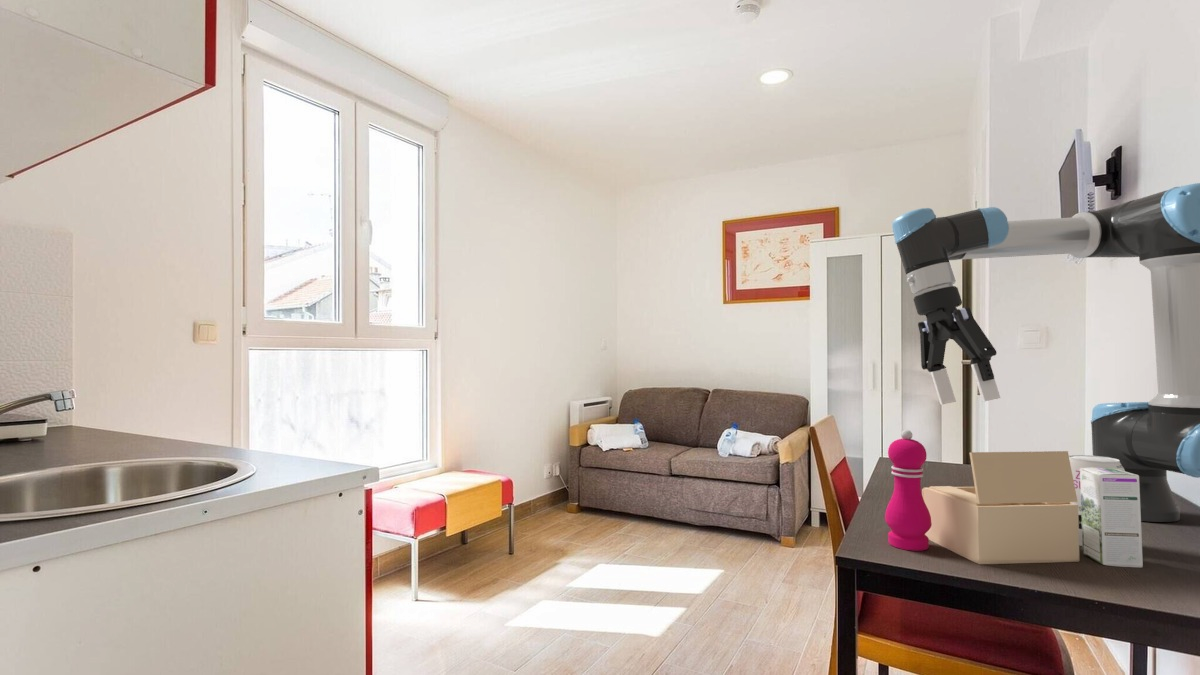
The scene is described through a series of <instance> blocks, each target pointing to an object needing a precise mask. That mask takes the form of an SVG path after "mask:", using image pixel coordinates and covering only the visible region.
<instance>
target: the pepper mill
mask: <svg viewBox="0 0 1200 675" xmlns="http://www.w3.org/2000/svg"><path fill="white" fill-rule="evenodd" d="M900 436H901V438H899V439H896V440H893V441H892V442H891V443H890V445H889V447H888V448H887V449H888V450H887V455H888V459H889V460H890V461H891V462H892V466H891V474H892V475H893V476H894V477H893V478H894V483H893V485H894V487H893V488H894V489H893V493H892V495H891V497H890V499H889V502H888V504H887V507H886V509H885V514H884V520H885V523H886V525H887V526H888V527H889V529H890V531H889V532H888V536H887V537H888V540H887V541H888V544H889V545H890V546H892V547H894V548H896V549H900V550H906V551H914V552H915V551H916V552H920V551H921V552H922V551H926V550H928V549H929V547H930V544H929V543H930V542H929V541H930V540H929V538H928V537H927V536H926V535H925V533H926V532H927V531H928V530H929V529H930V528H931V525H932V523H931V516H930V513H929V510H928V508H927V506H926V504H925V502H924V499H923V497H922V488H921V481H922V478H923V477H924V473H923V472H924V468H923V467H922V466H923V464H924V463H925V462H926V461H927V450H926V448H925V446H924V445H923V444H922V443H921V442H920V441H918V440H915V439H912V438H913V433H912V431H911V430H908V429H904V430H902V431H901V434H900Z"/></svg>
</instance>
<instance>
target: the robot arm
mask: <svg viewBox="0 0 1200 675" xmlns="http://www.w3.org/2000/svg"><path fill="white" fill-rule="evenodd" d="M891 223H892V224H891V226H892V227H891V228H892V233H893V237H894V242H895V243H894V244H895V245H896V247H897V251H898V253H899V257H900V259H901V262H902V267H903V269H904V272H905V275H906V283H908V285H909V289H910V293H911V294H913V295H916V296H914V298H913V303H914V306H915V309H916V313H917V315H918V316H926V320H924V321H920V322H917V326H918V331H919V339H920V340H919V341H920V342H919V343H920V362H921V364H920V366H921V369H922V370H927V372H929V373H930V376H931V377H932V378H931V379H932V381H933V384H934V388H935V391H936V395H937V398H938V401H939V404H940V405H941V406H942V405H948V404H951V403H956V402H957V400H956V397H955V394H954V391H953V387H952V385H951V381H950V377H949V374H948V370H947V366H946V365H944V359H945V354H946V347H947V342H948V341H950V340H953V342H955V343H956V345H957V346H959V348H960V349H961V350H962V351H964V353H965V354H966V356H967V357H969V359H970V363H969V364H970V366H971V369H972V372H973V376H974V379H975V382H976V385H977V389H978V391H979V392H978V393H979V395H980V399H981V401H982V402H987V401H993V400H998V399H1001V396H1000V392H999V390H998V386H997V384H996V383H997V382H996V379H995V374H994V372H993V368H992V365H991V362H990V361H991V360H992V357H995V356H996V355H997V350H996V348H995V347H994V345H993V344H992V343H991V340H989V338H988V337H987V335H986V333H984V331H983V330H982V328H981V327H980V325H979V324H978V323H977V321H976V320H975V318H974V316H973V313H972V311H971V308H970V307H969V306H967V307H966V306H965V307H962V308H958V307H961V306H962V304H963V300H962V298H961V295H960V292H959V291H960V290H959V288H958V287H957V286H956V285H954V284H956V278H955V275H954V272H953V269H952V266H951V263H950V261H957V260H975V259H976V260H978V259H993V258H997V259H998V258H1010V257H1011V258H1012V257H1015V258H1016V257H1031V256H1033V257H1034V256H1049V255H1050V256H1051V255H1071V256H1072V257H1074V258H1076V259H1077V258H1078V259H1080V258H1081V259H1082V258H1083V259H1085V258H1139V260H1138V261H1139V264H1140V265H1141V266H1143V267H1144V268H1146V269H1147V270H1149V271H1150V283H1151V296H1152V297H1151V298H1152V300H1151V301H1152V314H1153V328H1154V329H1153V331H1154V333H1153V334H1154V345H1155V346H1154V347H1155V348H1154V349H1155V362H1156V363H1155V364H1156V367H1155V368H1156V381H1157V395H1156V396H1154V397H1153V398H1151V399H1150V400H1149V401H1137V402H1136V401H1131V402H1105V403H1099V404H1096V405H1095V406H1093V408H1092V412H1091V420H1090V424H1091V443H1092V444H1091V446H1092V449H1091V450H1092V456H1101V457H1109V458H1114V459H1118V460H1120V463H1121V465H1122V466H1123V468H1124V470H1125V472H1129V473H1132V474H1136V475H1139V486H1140V511H1141V522H1149V523H1150V522H1151V523H1158V522H1159V523H1171V522H1173V523H1174V522H1177V521H1179V520H1180V519H1181V516H1180V515H1181V514H1180V513H1181V511H1180V507H1179V505H1178V504H1177V503H1176V501H1175V497H1174V494H1173V491H1172V489H1171V487H1170V484H1169V482H1168V476H1167V471H1168V472H1171V473H1172V472H1173V473H1178V474H1183V475H1186V476H1189V477H1192V478H1199V479H1200V182H1195V183H1191V184H1187V185H1186V184H1185V185H1181V186H1175V187H1172V188H1169V189H1167V190H1163V191H1160V192H1157V193H1154V194H1151V195H1148V196H1144V197H1140V198H1137V199H1133V200H1129V201H1126V202H1123V203H1120V204H1116V205H1113V206H1109V207H1107V208H1102V209H1098V210H1093V211H1082V212H1078V213H1076V214H1073V216H1071V217H1060V218H1056V217H1055V218H1041V219H1040V218H1039V219H1026V220H1025V219H1024V220H1023V219H1022V220H1008V217H1007V215H1006V213H1004V211H1003V210H1001V209H1000V208H998V207H995V206H989V207H983V208H981V207H979V208H977V209H973V210H968V211H964V212H960V213H956V214H952V215H947V216H941V217H937V215H936V214H935V212H934V210H933V209H932V208H929V207H922V208H917V209H914V210H910V211H907V212H905V213H903V214H901V215H899V216H898V217H896V218H895V219H894V220H893V221H892V222H891Z"/></svg>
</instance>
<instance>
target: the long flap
mask: <svg viewBox="0 0 1200 675" xmlns="http://www.w3.org/2000/svg"><path fill="white" fill-rule="evenodd" d="M1069 456H1070V455H1069V451H1068V450H1063V451H1061V450H1060V451H1056V450H1055V451H1047V450H1046V451H983V452H982V451H981V452H980V451H977V452H976V451H975V452H974V451H973V452H969V459H970V463H971V465H970V466H971V472H972V478H973V483H974V487H975V491H976V498H977V504H994V503H1046V502H1078V501H1077V496H1076V491H1075V485H1074V480H1073V475H1072V470H1071V465H1070V460H1069Z"/></svg>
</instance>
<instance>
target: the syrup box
mask: <svg viewBox="0 0 1200 675" xmlns="http://www.w3.org/2000/svg"><path fill="white" fill-rule="evenodd" d="M1080 488H1081V517H1082V543H1083V547H1082V554H1083V555H1085V556H1087V557H1089V558H1090V559H1092V560H1094V561H1095V562H1097V563H1099V564H1100V565H1104V566H1110V567H1122V568H1140V569H1141V568H1143V565H1144V564H1143V562H1144V561H1143V560H1144V559H1143V542H1142V541H1143V539H1142V537H1143V536H1142V535H1143V534H1142V533H1143V532H1142V521H1141V511H1140V486H1139V475H1136V474H1132V473H1129V472H1125V471H1122V470H1118V469H1114V468H1102V467H1091V468H1080Z"/></svg>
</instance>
